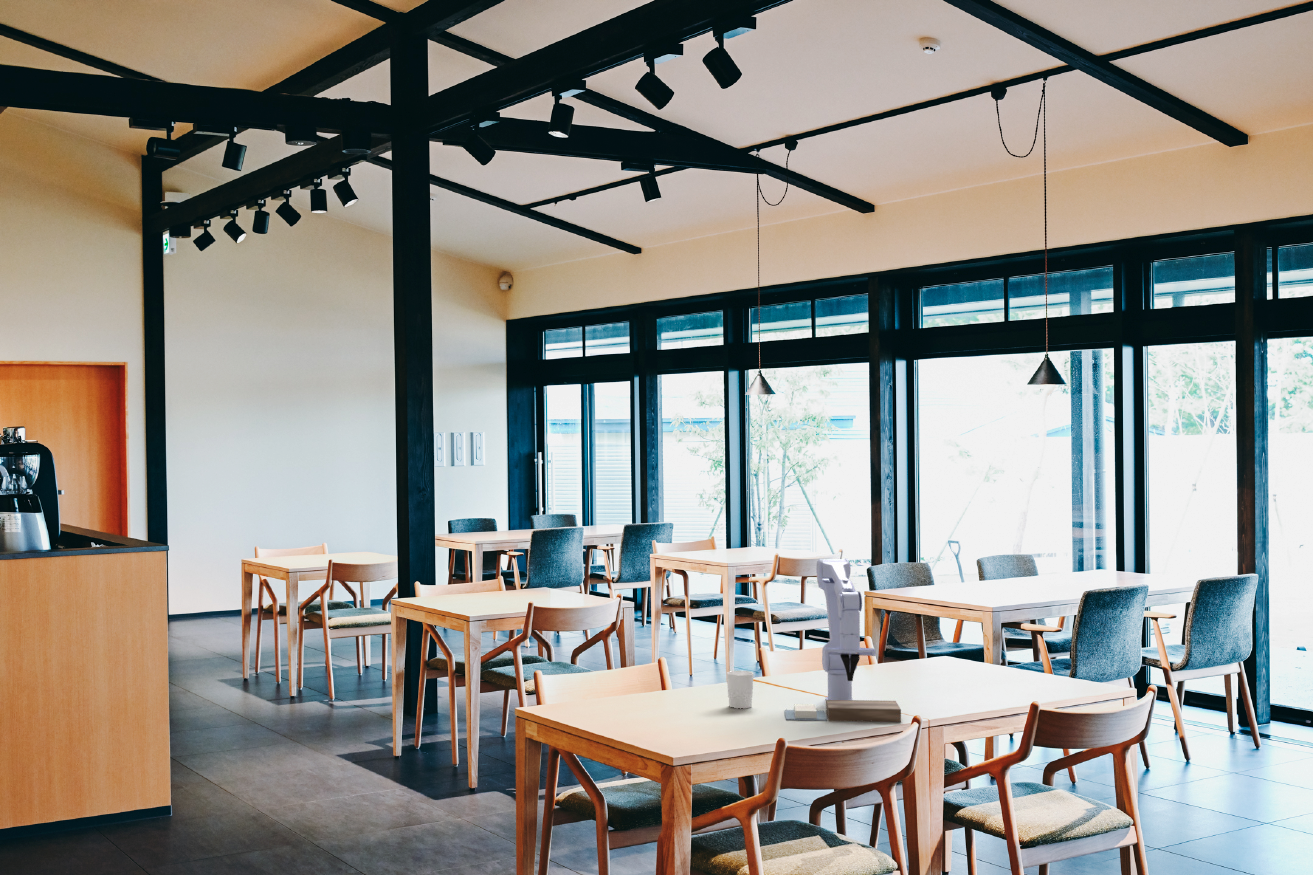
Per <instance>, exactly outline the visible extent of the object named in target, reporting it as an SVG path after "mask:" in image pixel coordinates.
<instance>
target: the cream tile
mask: <svg viewBox="0 0 1313 875" xmlns="http://www.w3.org/2000/svg"><path fill="white" fill-rule="evenodd" d="M793 710H794V713H795V718H817V708H816V704H803V703H802V704H801V703H800V704H798V703H797V704H796V703H795V704H794V705H793Z"/></svg>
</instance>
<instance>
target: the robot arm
mask: <svg viewBox="0 0 1313 875" xmlns="http://www.w3.org/2000/svg"><path fill="white" fill-rule="evenodd" d="M850 576H851V562H850V560H849V559H848V558H840V559H839V558H828V559H827V558H825V559H824V558H818V559H817V561H816V580H817V584H818V588H820V589H821V590H823V593H824V596H825V597H824V598H825V601H826V611H827V612H826V614H827V623H828V631H829V632H828V634H829V641H828V642H827V643H826V644H824V645H823V647H822V651H821V653H822V654H821V655H822V656H821V659H822V660H821V662H822V664H821V665H822V669H823V671H824V672H826V673H827V696H825V698H824V699H825V701H826V700H854V699H853V697H852V696H853V691H852V690H853V687H852V686H853V685H852V684H853V681H854V680H853V679H854V675H855V671H856V670H857V667H858V663H859V661H860V659H861V656H866V657H867V656H871V657H876V652H877V651H876V648H874V647H872V648H871V647H867V648H866V647H861V639H860V638H861V635H860V634H861V631H860V630H861V628H860V627H861V624H860V623H861V622H860V621H861V620H860V619H861V618H860V617H861V616H860V615H861V614H860V612H861V611H862V609H863V608H862V607H863V598H862V594H861V591H856V588H855V586H854V584H853V582H852V581H851V579H850Z"/></svg>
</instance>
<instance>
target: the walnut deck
mask: <svg viewBox="0 0 1313 875" xmlns="http://www.w3.org/2000/svg"><path fill="white" fill-rule="evenodd" d="M825 714H826V717H827V721H828V722H872V723H873V722H874V723H875V722H877V723H878V722H883V723H885V722H887V723H890V722H891V723H895V722H896V723H897V722H898V723H902V709H901V707H900V706H899V704H898V702H897V701H896V700H873V699H872V700H867V699H866V700H864V699H863V700H861V699H857V700H856V699H853V700H826V699H825Z"/></svg>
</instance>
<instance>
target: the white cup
mask: <svg viewBox="0 0 1313 875" xmlns="http://www.w3.org/2000/svg"><path fill="white" fill-rule="evenodd" d="M726 680H727V697H728V705H729V706H730V707H729V706H728V707H729V708H731V707H734V708H733V709H738V708H740V709H739V710H741V708H743V710H744V709H750V708H752V703H753V701H752V700H753V690H754V672H753V671H748V670H732V671H731V670H730V671H727V672H726Z"/></svg>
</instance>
